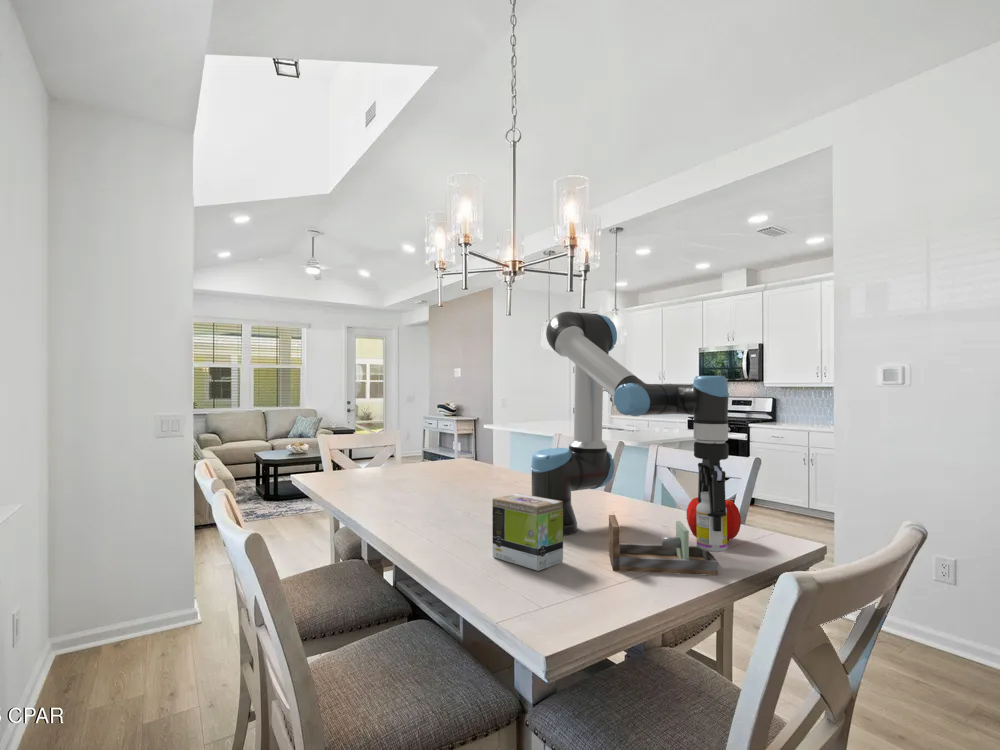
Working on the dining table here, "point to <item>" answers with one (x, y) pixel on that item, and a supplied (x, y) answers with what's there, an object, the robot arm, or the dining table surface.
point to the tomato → (732, 518)
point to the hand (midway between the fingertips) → (711, 539)
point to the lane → (656, 557)
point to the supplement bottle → (703, 526)
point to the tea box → (528, 530)
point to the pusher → (678, 541)
